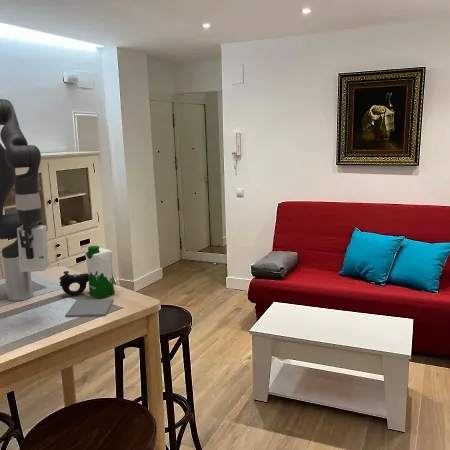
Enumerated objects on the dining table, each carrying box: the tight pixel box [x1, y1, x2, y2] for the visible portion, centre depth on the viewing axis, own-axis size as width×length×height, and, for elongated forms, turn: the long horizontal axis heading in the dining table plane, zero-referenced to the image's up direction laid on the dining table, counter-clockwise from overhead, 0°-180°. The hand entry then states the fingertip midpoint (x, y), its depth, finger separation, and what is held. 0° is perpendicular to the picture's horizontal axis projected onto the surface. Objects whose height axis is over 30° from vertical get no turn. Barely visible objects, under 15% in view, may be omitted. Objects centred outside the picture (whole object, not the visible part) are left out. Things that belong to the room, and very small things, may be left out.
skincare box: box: [17, 224, 50, 272], centre depth 153 cm, size 8×6×15 cm
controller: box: [59, 270, 89, 297], centre depth 180 cm, size 4×12×10 cm, turn 113°
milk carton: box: [84, 245, 115, 299], centre depth 178 cm, size 9×9×20 cm
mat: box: [64, 298, 115, 318], centre depth 166 cm, size 14×14×1 cm
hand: (34, 255), depth 153 cm, fingers closed on skincare box, 6 cm apart
